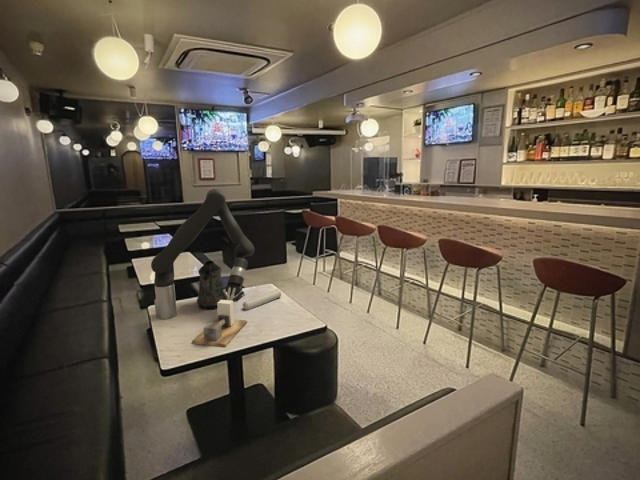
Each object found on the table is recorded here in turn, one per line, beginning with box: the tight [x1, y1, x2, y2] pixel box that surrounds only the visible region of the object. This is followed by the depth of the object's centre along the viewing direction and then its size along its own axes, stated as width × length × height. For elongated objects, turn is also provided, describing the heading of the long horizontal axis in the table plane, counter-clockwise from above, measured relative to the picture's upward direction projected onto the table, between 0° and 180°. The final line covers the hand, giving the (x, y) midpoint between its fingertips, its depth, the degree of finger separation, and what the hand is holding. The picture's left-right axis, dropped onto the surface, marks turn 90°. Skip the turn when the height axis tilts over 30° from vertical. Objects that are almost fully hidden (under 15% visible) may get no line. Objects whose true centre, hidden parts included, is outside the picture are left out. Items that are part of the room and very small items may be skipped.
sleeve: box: [217, 300, 235, 326], centre depth 171 cm, size 6×4×11 cm, turn 79°
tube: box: [242, 289, 282, 311], centre depth 201 cm, size 5×5×25 cm
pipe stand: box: [191, 317, 248, 348], centre depth 166 cm, size 16×24×7 cm, turn 169°
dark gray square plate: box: [217, 315, 230, 327], centre depth 169 cm, size 5×1×5 cm, turn 79°
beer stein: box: [196, 260, 227, 311], centre depth 196 cm, size 16×19×25 cm
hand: (228, 309), depth 173 cm, fingers closed
